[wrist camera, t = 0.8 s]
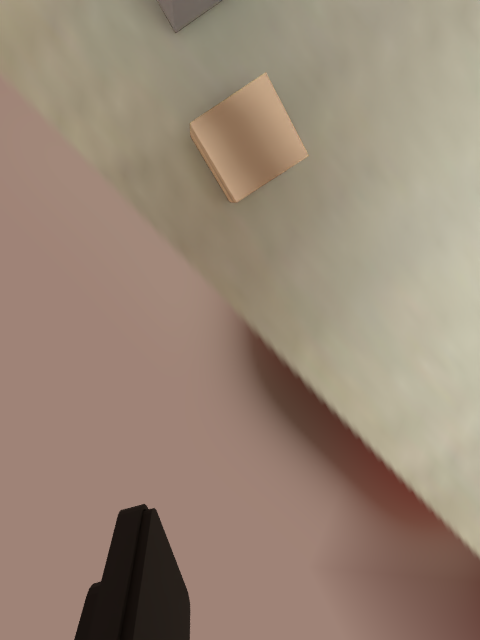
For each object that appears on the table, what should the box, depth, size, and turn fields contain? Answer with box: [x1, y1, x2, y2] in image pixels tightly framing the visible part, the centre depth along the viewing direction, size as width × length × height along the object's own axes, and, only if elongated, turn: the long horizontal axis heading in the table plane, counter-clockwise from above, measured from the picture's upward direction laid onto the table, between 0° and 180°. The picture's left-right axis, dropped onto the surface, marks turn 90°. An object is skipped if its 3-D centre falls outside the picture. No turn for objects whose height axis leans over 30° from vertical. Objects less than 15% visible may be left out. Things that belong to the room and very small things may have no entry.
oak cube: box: [190, 72, 309, 203], centre depth 26 cm, size 5×5×5 cm
